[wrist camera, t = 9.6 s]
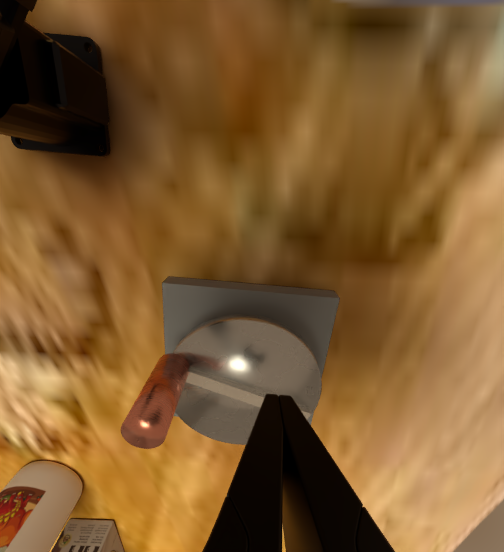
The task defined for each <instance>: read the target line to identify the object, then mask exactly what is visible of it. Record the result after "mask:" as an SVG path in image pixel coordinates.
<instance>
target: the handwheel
mask: <svg viewBox="0 0 504 552" xmlns="http://www.w3.org/2000/svg"><path fill="white" fill-rule="evenodd" d="M321 385H322V382H321V375H320V371H319V368H318V365H317V362H316V359H315V356H314V354H313V352H312V350H311V349H310V347H309V346H308V344H307V343H306V342H305V341H304V340H303V338H302V337H301V336H300V335H298V334H297V333H296V332H295V331H294V330H292V329H291V328H289V327H287V326H286V325H284V324H282V323H280V322H278V321H276V320H273V319H270V318H267V317H263V316H257V315H249V314H232V315H226V316H221V317H217V318H214V319H211V320H208V321H206V322H204V323H202V324H200V325H198V326H197V327H195V328H194V329H192V330H191V331H190V332H188V333H187V334H186V335H185V336H184V337H183V338H182V339H181V341H180V342H179V344H178V345H177V346H176V348H175V350H174V352H173V353H169V354H165V355H163V356H162V357H161V358H160V359H159V361H158V362H157V364H156V366H155V368H154V369H153V371H152V373H151V375H150V377H149V378H148V380H147V382H146V384H145V385H144V387H143V389H142V391H141V392H140V394H139V396H138V398H137V399H136V401H135V403H134V405H133V407H132V408H131V410H130V412H129V414H128V415H127V417H126V419H125V421H124V422H123V424H122V426H121V433H122V436H123V437H124V439H125V440H126V441H127V442H128V443H130V444H131V445H133V446H136V447H139V448H144V449H150V448H155V447H158V446H160V445H161V444H162V443H163V442H164V440H165V438H166V435H167V432H168V429H169V427H170V424H171V421H172V418H173V416H174V413H175V412H176V414H177V415H178V416H179V417H180V418H181V419H182V420H183V421H184V422H185V423H186V424H187V425H188V426H190V427H191V428H192V429H194V430H195V431H197V432H199V433H200V434H202V435H204V436H207V437H209V438H212V439H214V440H218V441H221V442H225V443H231V444H242V445H246V444H247V441H248V439H249V436H250V433H251V431H252V428H253V426H254V423H255V421H256V418H257V415H258V413H259V410H260V408H261V405H262V403H263V400H264V397H265V395H266V394H277V395H278V396H279V395H290V396H291V397H292V398H293V399H294V401H295V402H296V404H297V405H298V407H299V409H300V410H301V412H302V413H303V415H304V416H305V418H306V419H307V420H308V418H309V417H310V416H311V415H312V413H313V412H314V410H315V408H316V407H317V404H318V402H319V399H320V394H321Z"/></svg>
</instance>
